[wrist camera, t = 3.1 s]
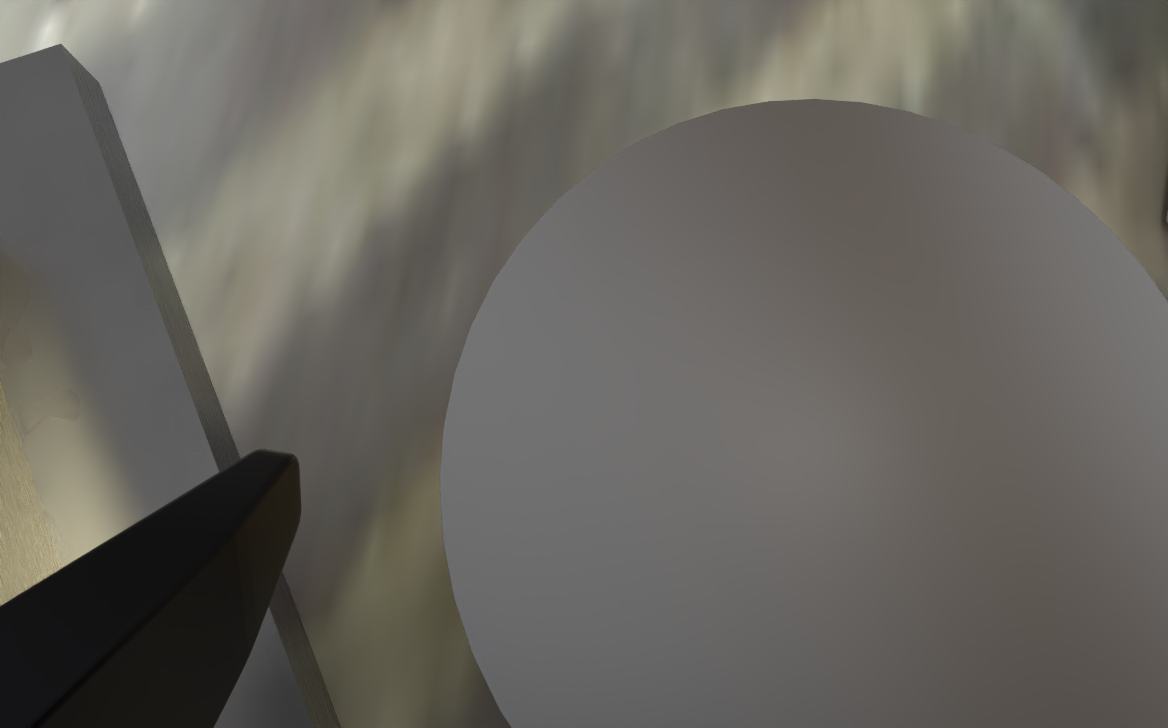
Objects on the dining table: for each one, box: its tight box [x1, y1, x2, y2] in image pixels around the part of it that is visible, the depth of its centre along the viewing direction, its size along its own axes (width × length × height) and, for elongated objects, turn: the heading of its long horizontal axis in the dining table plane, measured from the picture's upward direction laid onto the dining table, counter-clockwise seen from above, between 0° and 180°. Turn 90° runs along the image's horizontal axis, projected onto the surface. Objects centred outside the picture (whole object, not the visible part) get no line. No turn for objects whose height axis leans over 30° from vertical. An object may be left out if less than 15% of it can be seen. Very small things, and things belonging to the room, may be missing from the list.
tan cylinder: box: [440, 99, 1168, 728], centre depth 11 cm, size 5×5×12 cm
